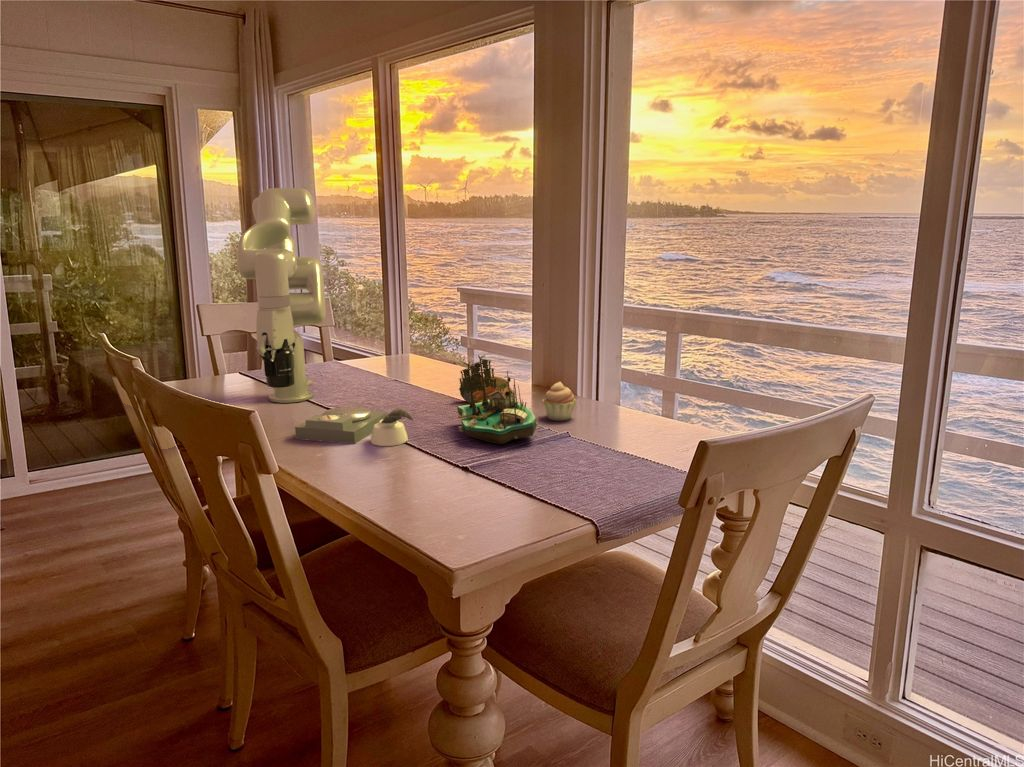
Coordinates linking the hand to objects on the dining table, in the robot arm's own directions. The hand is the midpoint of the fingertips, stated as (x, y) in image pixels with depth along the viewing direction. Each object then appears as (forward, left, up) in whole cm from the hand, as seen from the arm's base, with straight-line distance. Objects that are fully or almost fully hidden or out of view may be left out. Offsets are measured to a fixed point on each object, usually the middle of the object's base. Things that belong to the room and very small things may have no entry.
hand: (280, 372), depth 182 cm
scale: (-2, +15, -15) cm, 22 cm away
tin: (-37, +42, -15) cm, 59 cm away
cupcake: (-27, +66, -15) cm, 73 cm away
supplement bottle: (0, 0, -4) cm, 4 cm away
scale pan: (-5, +15, -12) cm, 20 cm away
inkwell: (+5, +34, -15) cm, 38 cm away
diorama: (-9, +53, -15) cm, 56 cm away
